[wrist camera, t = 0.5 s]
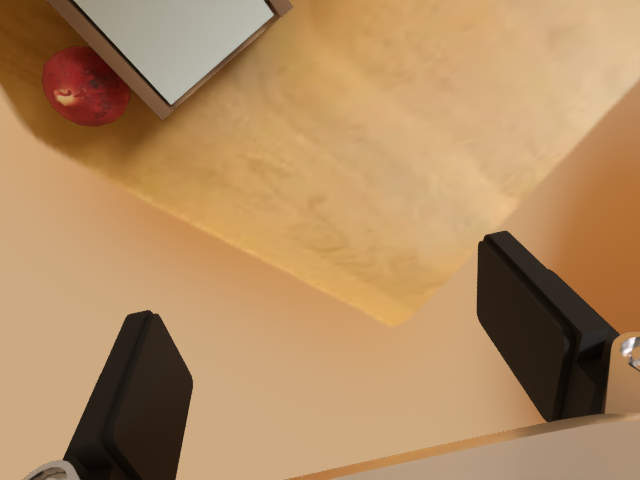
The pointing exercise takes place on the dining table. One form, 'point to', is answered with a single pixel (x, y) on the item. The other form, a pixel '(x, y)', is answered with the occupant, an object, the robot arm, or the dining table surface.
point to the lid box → (124, 67)
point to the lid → (176, 35)
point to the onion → (84, 87)
